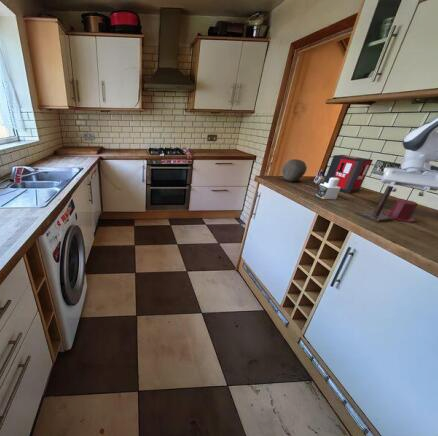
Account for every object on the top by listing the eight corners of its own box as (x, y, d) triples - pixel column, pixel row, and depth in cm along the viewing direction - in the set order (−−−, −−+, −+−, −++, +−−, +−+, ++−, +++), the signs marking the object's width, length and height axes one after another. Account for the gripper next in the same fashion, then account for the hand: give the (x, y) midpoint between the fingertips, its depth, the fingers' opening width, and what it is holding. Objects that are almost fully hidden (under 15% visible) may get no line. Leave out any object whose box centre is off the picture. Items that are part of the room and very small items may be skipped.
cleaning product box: (358, 191, 143) (373, 159, 134) (349, 193, 140) (364, 160, 131) (330, 184, 157) (342, 154, 148) (322, 185, 153) (333, 155, 145)
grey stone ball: (301, 185, 153) (309, 162, 146) (278, 181, 160) (284, 159, 153) (302, 180, 164) (309, 159, 157) (280, 177, 170) (286, 156, 164)
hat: (420, 221, 105) (430, 205, 101) (403, 222, 103) (413, 206, 99) (394, 212, 114) (402, 197, 110) (378, 213, 112) (386, 198, 108)
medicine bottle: (315, 195, 135) (322, 175, 130) (327, 195, 135) (335, 175, 129) (323, 199, 128) (331, 178, 123) (335, 199, 128) (344, 179, 123)
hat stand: (393, 220, 104) (410, 189, 98) (378, 222, 103) (394, 190, 96) (371, 212, 112) (386, 183, 106) (357, 213, 111) (371, 183, 104)
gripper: (387, 162, 114) (380, 185, 112) (448, 169, 103) (442, 194, 100) (382, 169, 119) (375, 191, 117) (439, 176, 108) (434, 201, 106)
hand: (407, 193), depth 108 cm, fingers open, 8 cm apart
